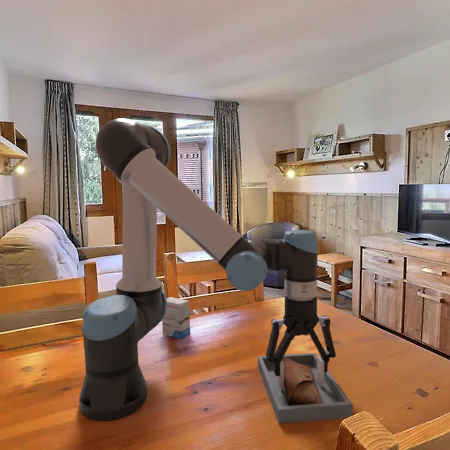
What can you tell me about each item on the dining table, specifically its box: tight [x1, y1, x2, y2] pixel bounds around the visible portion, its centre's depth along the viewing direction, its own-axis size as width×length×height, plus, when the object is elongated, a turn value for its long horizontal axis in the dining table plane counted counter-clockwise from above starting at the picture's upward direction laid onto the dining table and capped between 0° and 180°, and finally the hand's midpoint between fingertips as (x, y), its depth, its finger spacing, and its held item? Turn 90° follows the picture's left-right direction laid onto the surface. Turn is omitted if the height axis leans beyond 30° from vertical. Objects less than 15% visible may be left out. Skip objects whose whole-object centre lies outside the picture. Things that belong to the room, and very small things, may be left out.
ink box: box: [161, 296, 191, 340], centre depth 118 cm, size 9×5×12 cm, turn 58°
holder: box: [257, 352, 354, 424], centre depth 86 cm, size 16×23×3 cm
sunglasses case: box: [282, 357, 323, 406], centre depth 86 cm, size 18×7×7 cm
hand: (300, 385), depth 86 cm, fingers open, 9 cm apart
